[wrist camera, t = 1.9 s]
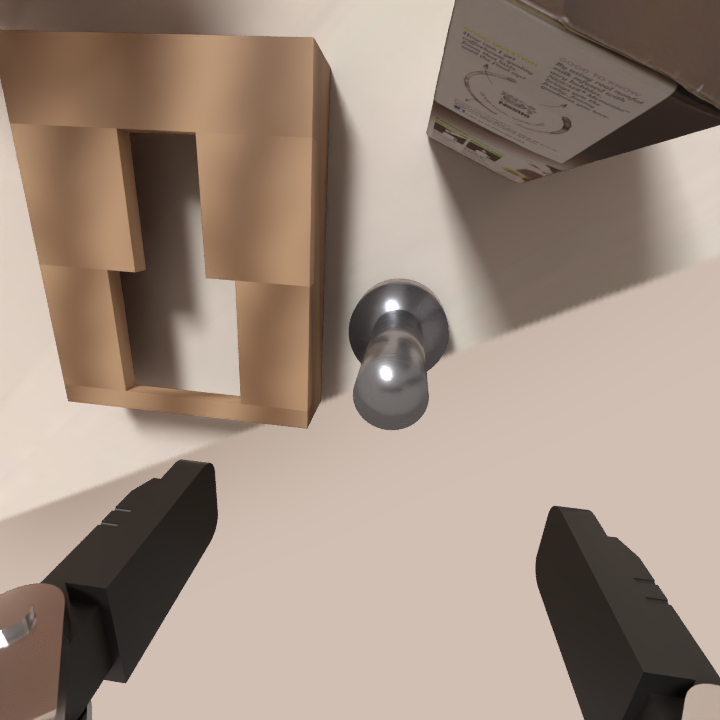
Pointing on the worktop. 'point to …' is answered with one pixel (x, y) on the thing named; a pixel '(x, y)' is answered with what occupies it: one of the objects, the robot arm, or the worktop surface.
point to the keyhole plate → (217, 196)
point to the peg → (396, 351)
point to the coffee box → (574, 80)
